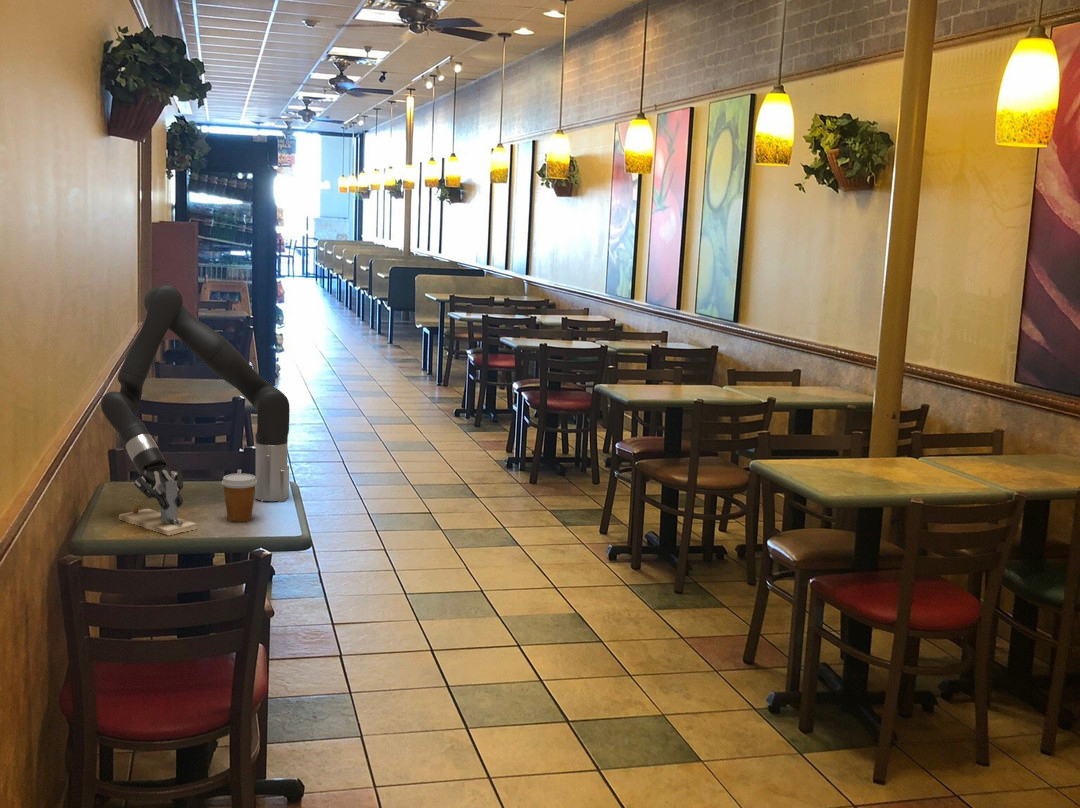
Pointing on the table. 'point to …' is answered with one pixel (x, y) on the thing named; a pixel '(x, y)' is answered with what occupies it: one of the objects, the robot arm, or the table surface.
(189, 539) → the table surface
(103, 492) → the table surface
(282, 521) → the table surface
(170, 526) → the rail
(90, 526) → the table surface
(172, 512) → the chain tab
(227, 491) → the disposable coffee cup
